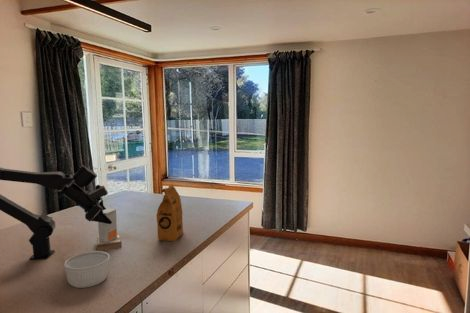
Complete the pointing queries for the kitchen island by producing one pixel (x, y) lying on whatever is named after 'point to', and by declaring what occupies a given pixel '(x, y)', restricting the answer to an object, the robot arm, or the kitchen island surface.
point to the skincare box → (108, 226)
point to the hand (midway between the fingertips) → (111, 219)
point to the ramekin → (87, 268)
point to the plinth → (109, 244)
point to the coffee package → (170, 215)
